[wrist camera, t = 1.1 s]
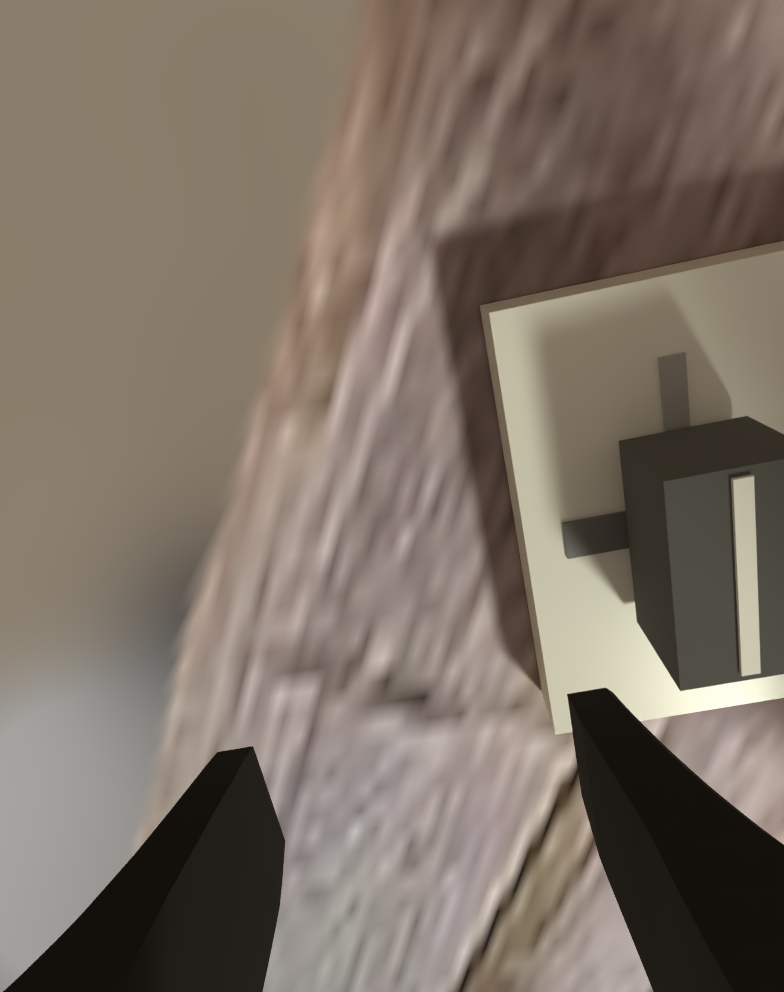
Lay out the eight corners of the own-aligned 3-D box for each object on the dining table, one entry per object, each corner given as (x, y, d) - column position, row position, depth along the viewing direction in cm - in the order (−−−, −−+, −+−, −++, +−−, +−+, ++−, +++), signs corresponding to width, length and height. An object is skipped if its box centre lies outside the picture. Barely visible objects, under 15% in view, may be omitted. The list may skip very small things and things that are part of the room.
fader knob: (747, 415, 16) (822, 453, 13) (753, 601, 18) (822, 671, 15) (618, 440, 17) (665, 483, 14) (636, 621, 18) (681, 693, 15)
